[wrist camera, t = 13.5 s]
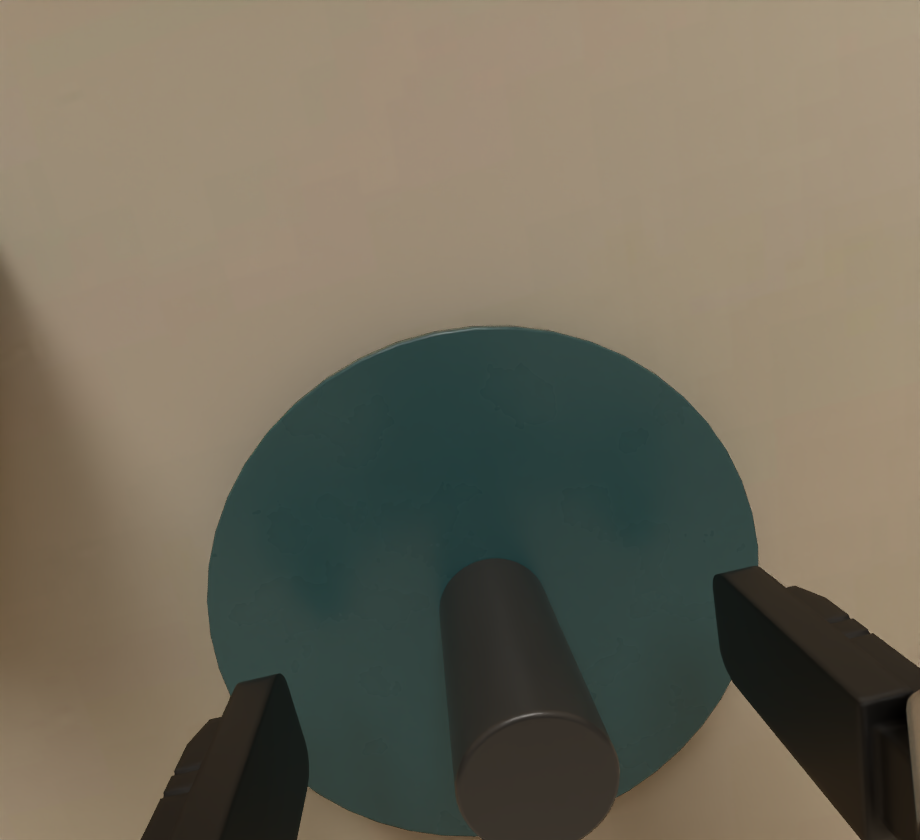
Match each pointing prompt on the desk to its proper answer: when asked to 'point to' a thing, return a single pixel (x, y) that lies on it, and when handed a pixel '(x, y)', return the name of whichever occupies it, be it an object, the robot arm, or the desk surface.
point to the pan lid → (483, 579)
